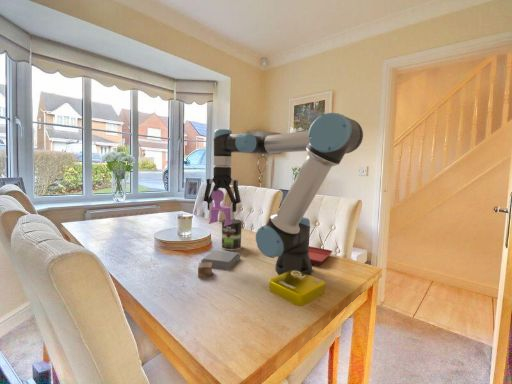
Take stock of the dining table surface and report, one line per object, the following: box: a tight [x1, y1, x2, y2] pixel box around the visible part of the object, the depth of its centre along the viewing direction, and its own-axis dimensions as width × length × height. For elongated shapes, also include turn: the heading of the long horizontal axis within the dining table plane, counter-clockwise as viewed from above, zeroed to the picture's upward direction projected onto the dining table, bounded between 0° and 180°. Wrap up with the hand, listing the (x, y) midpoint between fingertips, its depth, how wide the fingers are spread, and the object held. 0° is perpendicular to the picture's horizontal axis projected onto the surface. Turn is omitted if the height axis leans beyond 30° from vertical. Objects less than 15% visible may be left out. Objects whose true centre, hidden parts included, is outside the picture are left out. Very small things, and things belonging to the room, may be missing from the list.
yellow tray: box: [268, 270, 326, 307], centre depth 94 cm, size 15×15×5 cm
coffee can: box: [221, 218, 243, 252], centre depth 139 cm, size 10×10×14 cm
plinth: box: [200, 249, 241, 270], centre depth 119 cm, size 13×13×3 cm
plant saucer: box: [309, 245, 333, 267], centre depth 128 cm, size 18×18×3 cm
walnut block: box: [197, 262, 213, 278], centre depth 106 cm, size 5×5×4 cm
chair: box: [208, 188, 232, 226], centre depth 116 cm, size 8×9×15 cm
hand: (221, 218), depth 117 cm, fingers closed on chair, 9 cm apart
